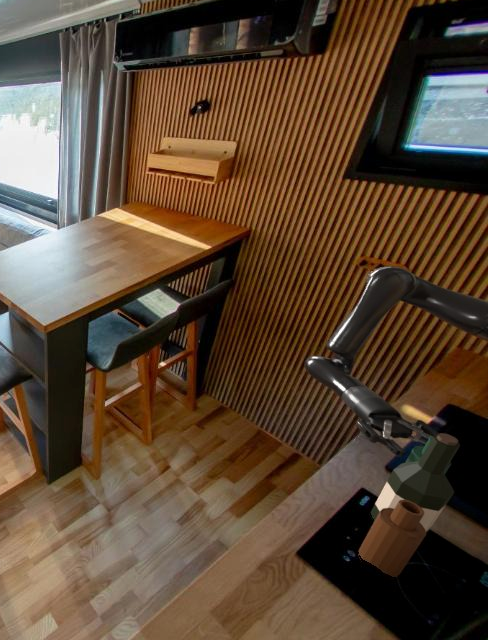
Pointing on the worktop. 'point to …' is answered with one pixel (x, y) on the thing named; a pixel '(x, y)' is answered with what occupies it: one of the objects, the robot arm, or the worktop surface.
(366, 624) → the worktop surface
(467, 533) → the worktop surface
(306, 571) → the worktop surface
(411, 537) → the brown bottle
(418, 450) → the green bottle
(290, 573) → the worktop surface
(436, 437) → the wine bottle
